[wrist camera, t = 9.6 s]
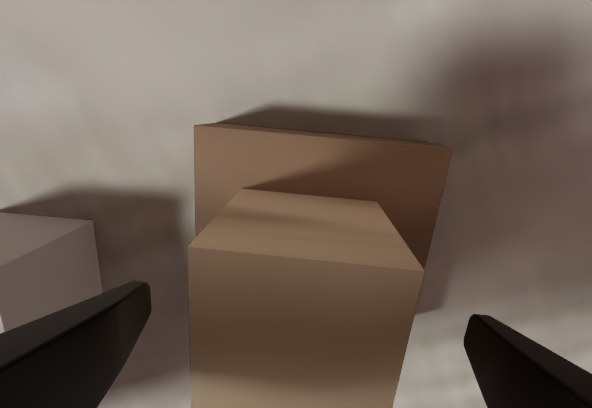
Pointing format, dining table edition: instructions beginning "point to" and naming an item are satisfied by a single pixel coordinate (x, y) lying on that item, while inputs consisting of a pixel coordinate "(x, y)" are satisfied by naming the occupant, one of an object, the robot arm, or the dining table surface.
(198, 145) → the walnut block
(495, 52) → the dining table surface
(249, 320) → the maple cube
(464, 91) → the dining table surface
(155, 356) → the dining table surface
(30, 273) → the grey cube
